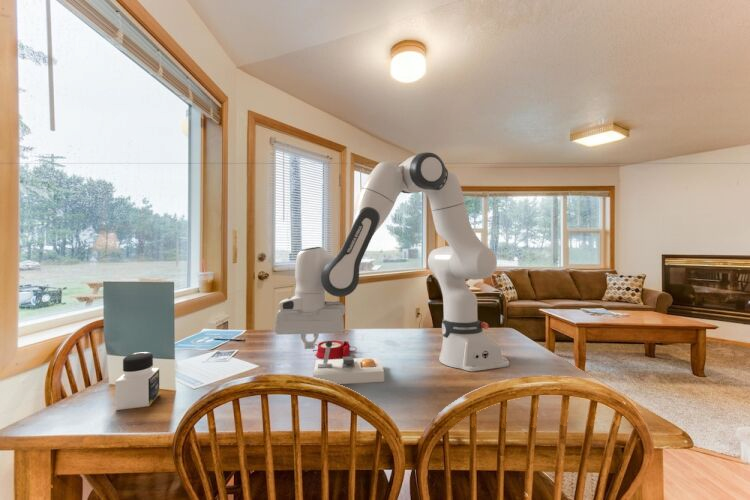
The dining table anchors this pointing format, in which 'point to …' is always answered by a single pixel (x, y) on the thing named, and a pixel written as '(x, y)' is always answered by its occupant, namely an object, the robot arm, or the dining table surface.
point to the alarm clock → (334, 350)
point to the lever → (327, 351)
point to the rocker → (348, 360)
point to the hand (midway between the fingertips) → (309, 348)
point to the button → (367, 363)
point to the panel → (349, 371)
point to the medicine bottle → (137, 382)
